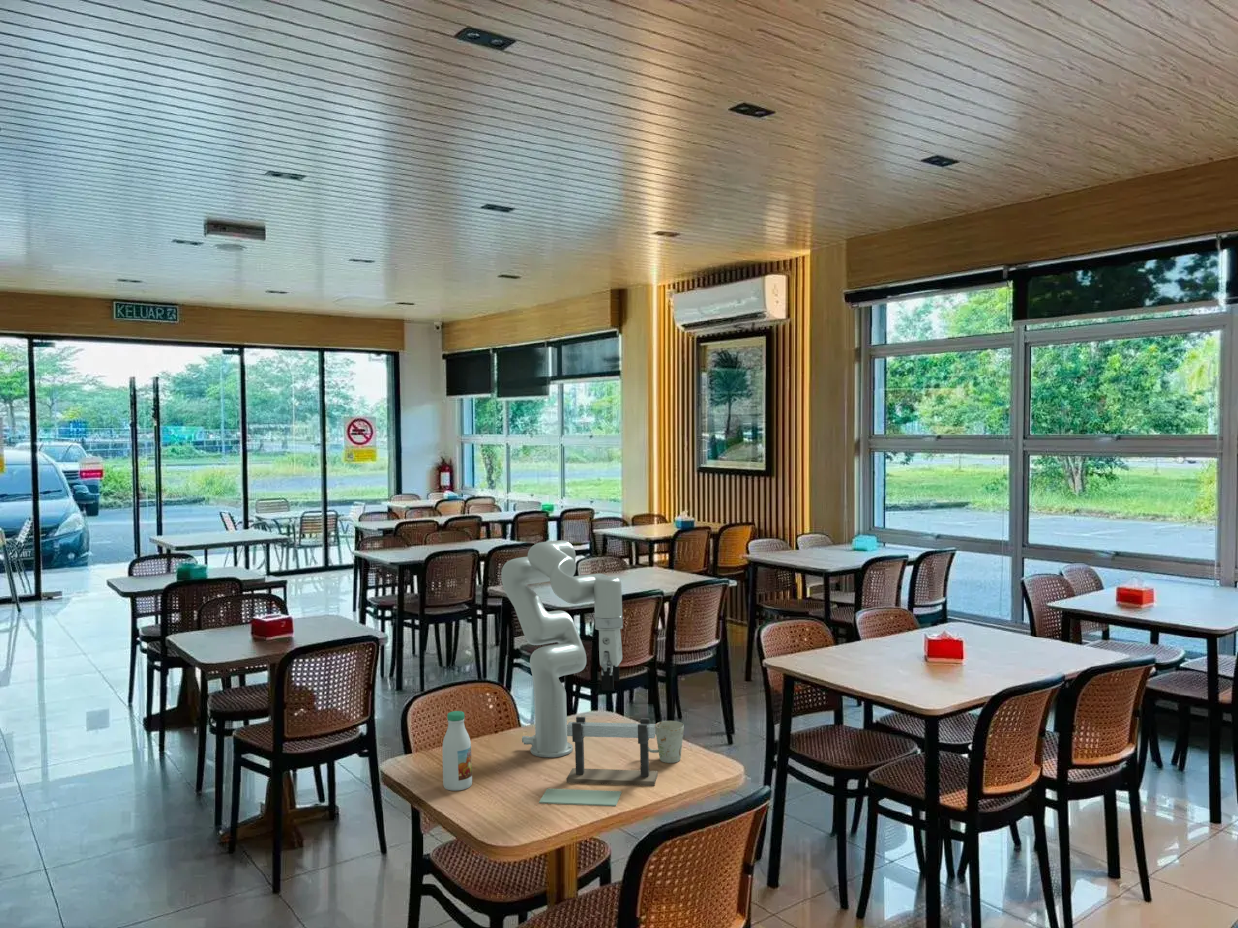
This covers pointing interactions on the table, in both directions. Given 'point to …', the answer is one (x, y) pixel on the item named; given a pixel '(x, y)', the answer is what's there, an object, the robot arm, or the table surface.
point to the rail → (611, 730)
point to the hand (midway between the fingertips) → (610, 685)
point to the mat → (581, 797)
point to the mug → (669, 741)
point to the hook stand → (611, 775)
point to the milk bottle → (456, 754)
